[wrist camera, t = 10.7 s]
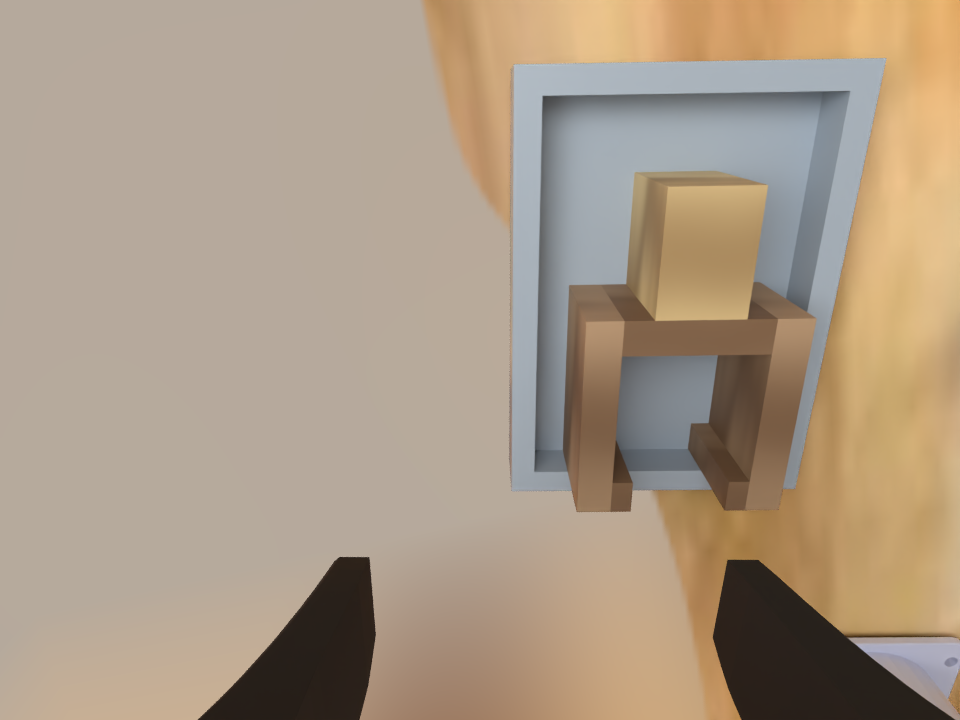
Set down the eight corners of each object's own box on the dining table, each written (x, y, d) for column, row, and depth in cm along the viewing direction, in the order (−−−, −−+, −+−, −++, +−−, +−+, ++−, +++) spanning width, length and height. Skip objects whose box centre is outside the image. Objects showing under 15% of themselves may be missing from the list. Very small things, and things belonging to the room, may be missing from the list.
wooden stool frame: (733, 448, 22) (778, 510, 18) (562, 450, 22) (576, 512, 18) (777, 169, 18) (843, 183, 15) (573, 173, 18) (593, 187, 15)
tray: (769, 457, 23) (794, 488, 21) (509, 459, 23) (511, 491, 21) (844, 63, 18) (886, 58, 16) (510, 69, 18) (513, 64, 16)
